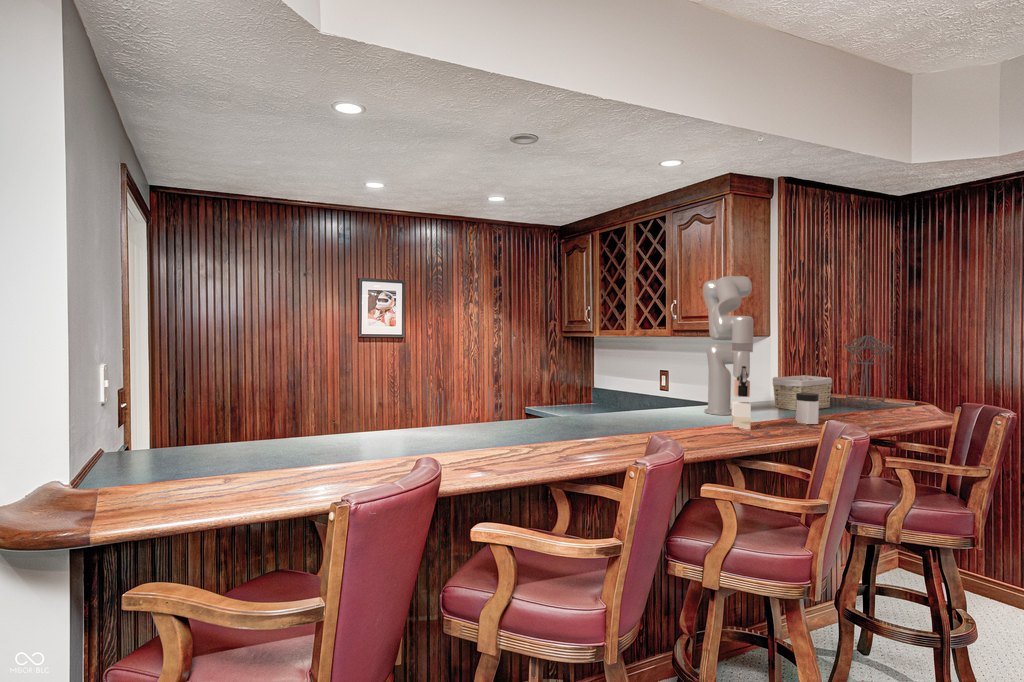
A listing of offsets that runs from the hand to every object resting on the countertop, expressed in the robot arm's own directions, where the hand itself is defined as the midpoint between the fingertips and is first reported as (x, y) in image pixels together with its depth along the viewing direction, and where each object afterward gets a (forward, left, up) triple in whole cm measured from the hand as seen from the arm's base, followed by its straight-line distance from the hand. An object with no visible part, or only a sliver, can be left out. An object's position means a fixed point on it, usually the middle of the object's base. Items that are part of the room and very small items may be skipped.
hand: (741, 394), depth 223 cm
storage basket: (-63, +36, -13) cm, 74 cm away
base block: (0, 0, -13) cm, 13 cm away
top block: (0, 0, -1) cm, 1 cm away
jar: (-19, +28, -13) cm, 36 cm away
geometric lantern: (-69, +66, -13) cm, 96 cm away
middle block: (0, 0, -8) cm, 8 cm away
